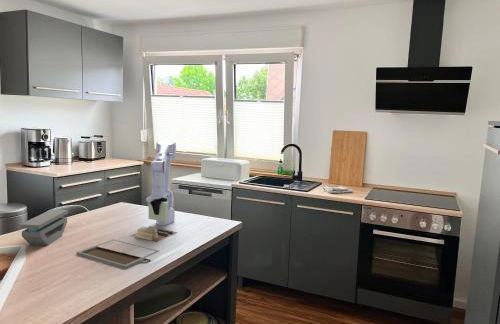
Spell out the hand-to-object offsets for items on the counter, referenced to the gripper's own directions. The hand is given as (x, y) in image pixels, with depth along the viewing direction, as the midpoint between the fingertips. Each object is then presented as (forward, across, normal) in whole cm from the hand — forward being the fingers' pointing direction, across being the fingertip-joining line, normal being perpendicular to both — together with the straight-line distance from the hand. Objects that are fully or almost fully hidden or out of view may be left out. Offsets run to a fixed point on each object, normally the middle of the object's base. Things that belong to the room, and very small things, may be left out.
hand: (158, 214), depth 181 cm
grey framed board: (+11, -28, -4) cm, 30 cm away
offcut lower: (+9, -8, 0) cm, 12 cm away
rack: (+10, -3, 0) cm, 10 cm away
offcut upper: (+7, -8, 0) cm, 11 cm away
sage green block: (+3, 0, 0) cm, 3 cm away
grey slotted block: (+10, -32, +36) cm, 49 cm away
